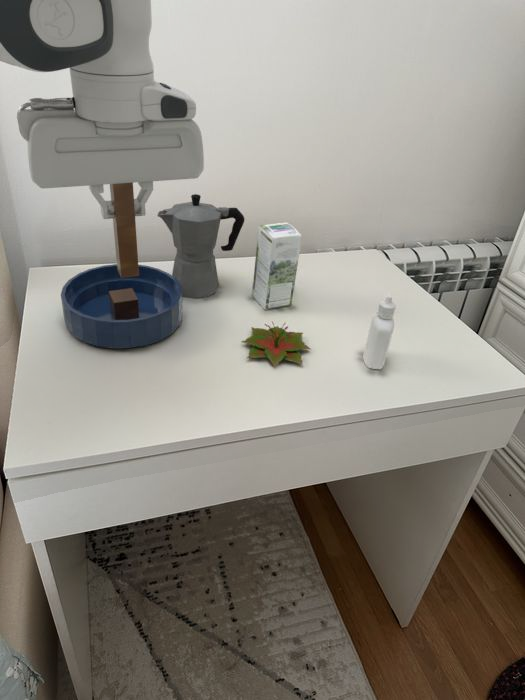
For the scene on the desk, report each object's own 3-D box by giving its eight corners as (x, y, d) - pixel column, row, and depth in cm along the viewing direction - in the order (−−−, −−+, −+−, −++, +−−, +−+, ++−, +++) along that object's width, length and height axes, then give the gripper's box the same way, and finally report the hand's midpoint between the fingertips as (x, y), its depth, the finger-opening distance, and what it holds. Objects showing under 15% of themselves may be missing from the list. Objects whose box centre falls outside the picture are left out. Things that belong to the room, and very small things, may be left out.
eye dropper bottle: (392, 357, 88) (410, 294, 81) (378, 373, 84) (395, 308, 78) (368, 347, 90) (383, 284, 83) (353, 362, 86) (368, 298, 79)
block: (115, 323, 89) (113, 302, 86) (110, 311, 91) (108, 290, 89) (139, 319, 90) (138, 299, 88) (133, 307, 93) (132, 287, 91)
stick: (121, 278, 71) (111, 173, 63) (117, 270, 73) (107, 166, 65) (139, 276, 72) (132, 171, 64) (135, 268, 74) (127, 165, 65)
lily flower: (311, 332, 93) (315, 309, 90) (312, 374, 83) (316, 350, 80) (242, 324, 93) (244, 302, 90) (235, 366, 83) (237, 342, 80)
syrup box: (278, 291, 103) (286, 220, 95) (292, 306, 99) (302, 233, 91) (251, 296, 101) (257, 223, 93) (265, 311, 97) (273, 237, 88)
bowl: (75, 361, 81) (71, 330, 77) (58, 299, 94) (53, 271, 91) (196, 339, 88) (197, 310, 85) (163, 284, 102) (163, 258, 99)
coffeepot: (161, 300, 97) (159, 204, 86) (157, 276, 104) (154, 185, 94) (244, 297, 100) (251, 204, 90) (235, 273, 108) (240, 185, 97)
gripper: (15, 105, 53) (39, 234, 61) (209, 102, 61) (207, 218, 69) (11, 91, 58) (33, 213, 66) (192, 91, 66) (192, 200, 74)
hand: (123, 215), depth 68 cm, fingers closed on stick, 2 cm apart
